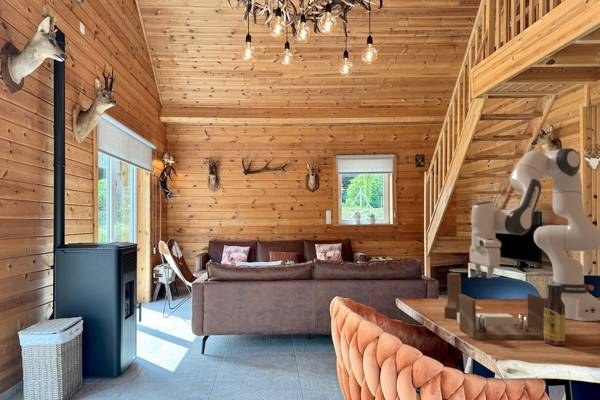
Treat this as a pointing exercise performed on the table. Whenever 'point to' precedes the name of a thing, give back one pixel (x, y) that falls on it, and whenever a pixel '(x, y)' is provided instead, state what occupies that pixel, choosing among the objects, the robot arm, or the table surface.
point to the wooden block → (453, 295)
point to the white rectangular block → (494, 319)
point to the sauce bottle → (554, 316)
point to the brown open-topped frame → (529, 331)
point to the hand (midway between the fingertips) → (484, 276)
